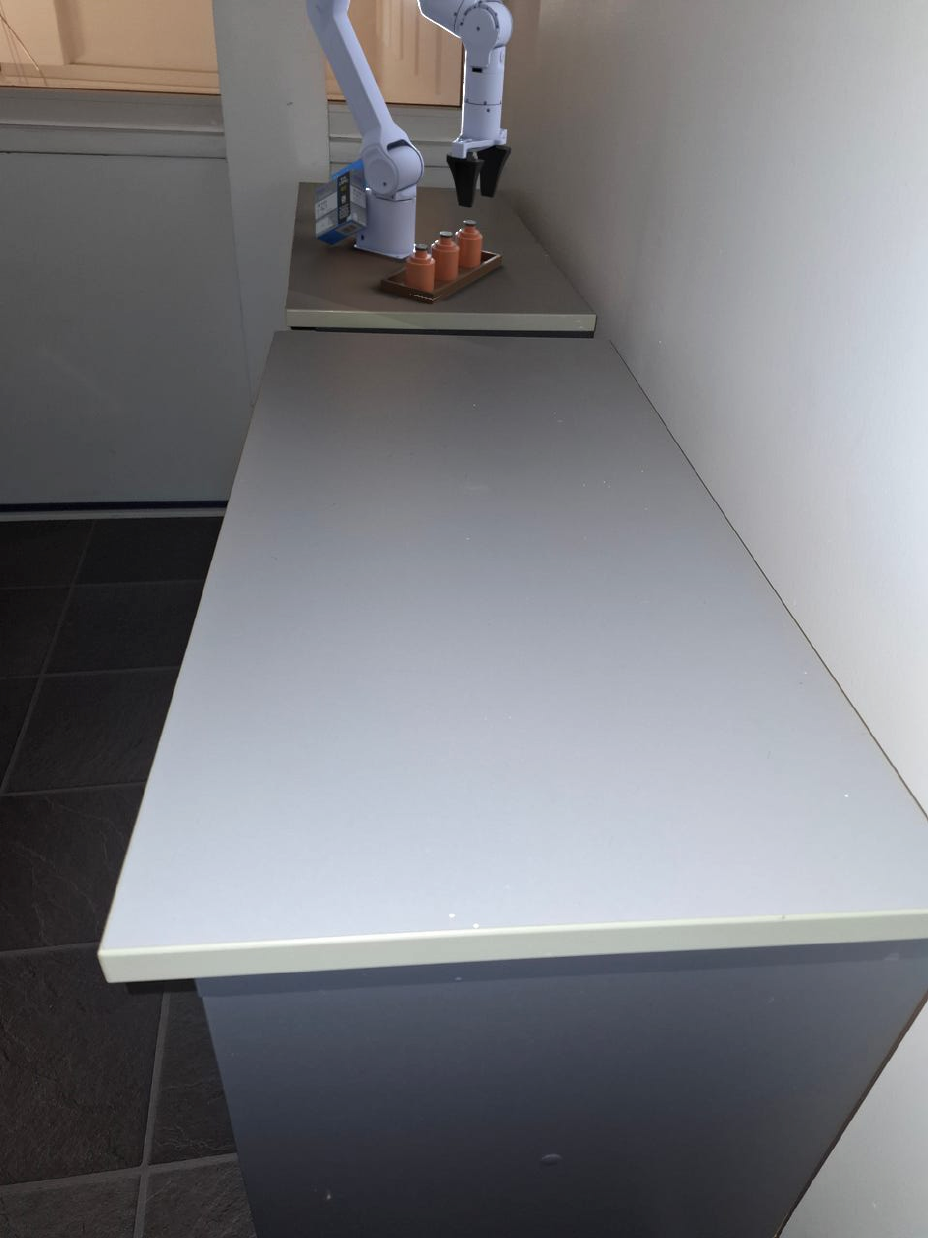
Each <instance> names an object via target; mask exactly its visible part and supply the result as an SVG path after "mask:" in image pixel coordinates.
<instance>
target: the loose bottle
mask: <svg viewBox="0 0 928 1238" xmlns="http://www.w3.org/2000/svg"><path fill="white" fill-rule="evenodd" d="M414 249H415V253H412V254H411V255H409V256H407V257H405V267H406V270H405V285H408V286H411V287H415V288H419V289H422V290H426V291H430V292H433V291H434V275H435V260H434V259H433V258H431V254H430V253H428V249H429V246H428V245H427V244H424V243H417V244H416V245H415V246H414Z"/></svg>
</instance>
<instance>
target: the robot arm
mask: <svg viewBox="0 0 928 1238" xmlns="http://www.w3.org/2000/svg"><path fill="white" fill-rule="evenodd" d="M416 1H417V3H418V7H419V10H420V13H421V15H422V16H423V17H425V18H426V19H428V20H429V21H431V22H433V23H435V24H436V25H438V26H439V27H441V28H443V29H444V30H446V31H447V32H448V33H451V34H452V35H454V36H455V37H457V38H459V39H460V40H461V43H462V45H463V47H464V49H465V58H464V59H465V60H464V75H463V76H464V77H463V78H464V79H463V82H464V83H463V98H462V99H463V100H462V119H461V133H460V134H459V136H458V137H457V138H456V139H455V140H454V141H452V142H451V152H449V153H446V156H445V158H446V159H445V161H446V163H447V165H448V167H449V170H450V172H451V175H452V179H453V183H454V186H455V192H456V197H457V203H458V206H459V207H464V208H468V209H471V208H473V205H474V202H475V197H476V190H477V184H478V179H479V189H480V190H479V192H480V196H482V197H487V198H491V199H492V198H493V199H494V197H495V196H496V193H497V189H498V185H499V181H500V178H501V176H502V172H503V169H504V167H505V164H506V163H507V161H508V159H509V157H510V156H511V153H512V147H511V146H507V145H506V144H507V136H508V129H506V128H501V122H502V121H501V120H502V105H503V93H504V79H505V62H506V61H505V60H506V45H507V44H508V43H509V41H510V40H511V37H512V35H513V31H514V21H513V20H514V19H513V17H512V13H511V11H510V10H509V8H508V7H507V6H505V4H503V2H502V1H501V0H416ZM350 3H351V0H305V6H306V13H307V17H308V20H309V23H310V24H311V26H312V29H313V31H314V33H315V36H316V38H317V40H318V42H319V44H320V47H321V49H322V51H323V53H324V56H325V58H326V61H327V62H328V65H329V67H330V69H331V71H332V73H333V76H334V78H335V80H336V82H337V85H338V87H339V89H340V91H341V93H342V95H343V98H344V99H345V103H346V105H347V107H348V109H349V111H350V113H351V116H352V118H353V120H354V122H355V124H356V127H357V129H358V131H359V133H360V136H361V139H362V140H361V143H360V149H359V156H360V158H361V159H362V161H363V164H364V172H365V179H366V182H367V185H368V186H369V188H370V189H366V229H363V230H361V231H359V232H357V233H355V234H356V235H355V236H356V237H355V238H356V239H355V240H356V241H355V242H356V243H355V244H354V245H353V248H356V249H360V250H364V251H368V252H371V253H375V254H379V255H382V256H386V257H389V258H393V259H394V258H395V259H398V260H404V259H406V258H407V257H409V256H410V255H411V254H412V253H415V249H414V246H415V245H416V244H415V241H416V240H415V239H416V238H415V237H416V214H417V212H416V211H417V184H419V182H420V181H421V180H422V178H423V176H424V173H425V163H424V162H425V161H424V159H423V155H422V154H421V152H420V151H419V149H418V148H416V147H415V146H414V145H413V143H412V142H411V141H410V139H409V136H408V135H407V133H406V132H405V131H404V130H403V129H402V128H401V127H400V126H398V125H397V123H395V122H394V120H393V118H392V116H391V113H390V111H389V108H388V107H387V104H386V102H385V99H384V97H383V95H382V92H381V91H380V87H379V86H378V83H377V81H376V79H375V76H374V74H373V72H372V69H371V67H370V64H369V63H368V61H367V60H368V59H367V58H366V56H365V53H364V51H363V49H362V47H361V44H360V42H359V39H358V38H357V35H356V32H355V30H354V28H353V26H352V23H351V20H350V19H349V17H348V9H349V6H350ZM474 153H476V157H475V155H474Z"/></svg>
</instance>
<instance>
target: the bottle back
mask: <svg viewBox="0 0 928 1238" xmlns="http://www.w3.org/2000/svg"><path fill="white" fill-rule="evenodd" d="M463 226H464V227H463V228H461V229H460V230H459V231H457V232H456V233H455V241H454V242H455V243H456V245H457V246H458V247H459V262H458V266H460V267H464V268H475V267H477V266H479V265H480V262H481V251H482V250H483V239H484V238H483V235H482V234H481V233H480V231H479V230H477V229H476V227H477V221H475V220H469V219H468V220H464V221H463Z"/></svg>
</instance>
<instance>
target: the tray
mask: <svg viewBox="0 0 928 1238" xmlns="http://www.w3.org/2000/svg"><path fill="white" fill-rule="evenodd" d="M502 261H503V255H502V254H499V253H496V252H492V251H487V250H484V249H482V251H481V262H480V265H479V266H477V267H475V268H464V267H460V266H458V277H457V278H456V279H454V280H452V281H440V280H436V279H434V291H433V292H430V291H426V290H422V289H419V288H415V287H411V286H408V285H405V270H406V266H405V267H403V268H401V269H398V270H397V271H394V272H393V273H390V274H389V275H386V276H385V277H383V278H381V279H380V280H379V281H380V283H379V284H380V291H382V292H386V293H390V294H393V295H397V296H400V297H405V298H408V299H412V300H416V301H419V302H423V303H426V304H430V305H434V304H436V303H438V302H440V301H441V300H443V299H445V298H446V297H448V296H450V295H452V294H454V293H455V292H457V291H458V290H460V289H462V288H464V287H465V286H467V285H468V284H470V283H472V282H474V281H476V280H477V279H479V278H481V277H483V276H484V275H486V274H488V273H490V272H491V271H493V270H495V269H496V268H498V267H500V266H502ZM410 294H411V295H410ZM414 295H419V296H423V297H427V298H432V299H434V298H437V297H439V296H440V297H439V298H437V299H435V300H433V301H432V300H429V299H425V298H421V297H418V296H414ZM441 295H442V296H441Z"/></svg>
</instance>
